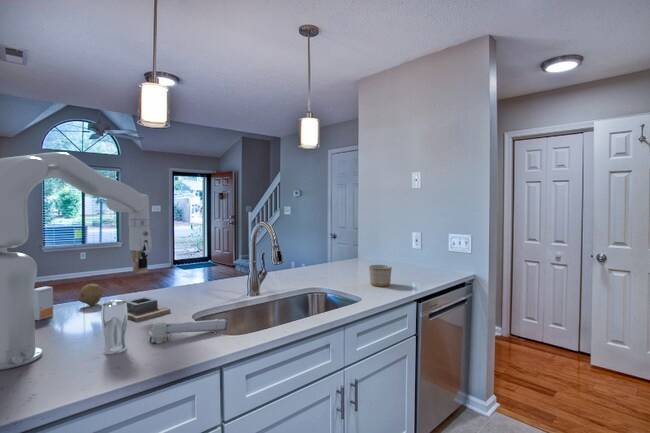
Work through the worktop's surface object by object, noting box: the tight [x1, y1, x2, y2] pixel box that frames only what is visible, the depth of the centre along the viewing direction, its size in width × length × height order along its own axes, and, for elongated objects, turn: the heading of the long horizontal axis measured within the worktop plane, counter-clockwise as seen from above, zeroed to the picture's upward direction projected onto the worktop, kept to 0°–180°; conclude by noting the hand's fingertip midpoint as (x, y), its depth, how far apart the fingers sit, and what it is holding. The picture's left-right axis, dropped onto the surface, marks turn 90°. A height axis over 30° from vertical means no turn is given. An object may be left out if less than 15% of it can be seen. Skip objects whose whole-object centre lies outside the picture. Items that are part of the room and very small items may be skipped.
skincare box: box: [34, 285, 54, 321], centre depth 137 cm, size 6×4×12 cm
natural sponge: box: [77, 283, 104, 307], centre depth 153 cm, size 9×9×10 cm
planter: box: [368, 264, 393, 288], centre depth 194 cm, size 13×13×10 cm
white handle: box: [148, 318, 228, 344], centre depth 119 cm, size 5×7×25 cm
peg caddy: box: [126, 296, 171, 323], centre depth 144 cm, size 20×14×5 cm
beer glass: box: [100, 299, 129, 356], centre depth 107 cm, size 7×7×15 cm
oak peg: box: [131, 249, 148, 275], centre depth 144 cm, size 4×4×10 cm
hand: (139, 266), depth 144 cm, fingers closed on oak peg, 4 cm apart
